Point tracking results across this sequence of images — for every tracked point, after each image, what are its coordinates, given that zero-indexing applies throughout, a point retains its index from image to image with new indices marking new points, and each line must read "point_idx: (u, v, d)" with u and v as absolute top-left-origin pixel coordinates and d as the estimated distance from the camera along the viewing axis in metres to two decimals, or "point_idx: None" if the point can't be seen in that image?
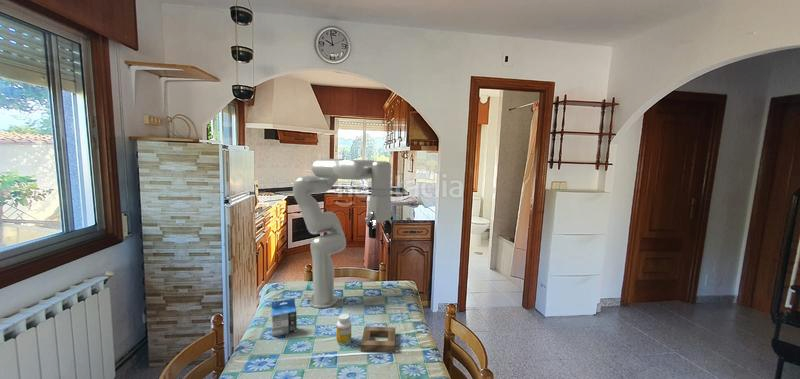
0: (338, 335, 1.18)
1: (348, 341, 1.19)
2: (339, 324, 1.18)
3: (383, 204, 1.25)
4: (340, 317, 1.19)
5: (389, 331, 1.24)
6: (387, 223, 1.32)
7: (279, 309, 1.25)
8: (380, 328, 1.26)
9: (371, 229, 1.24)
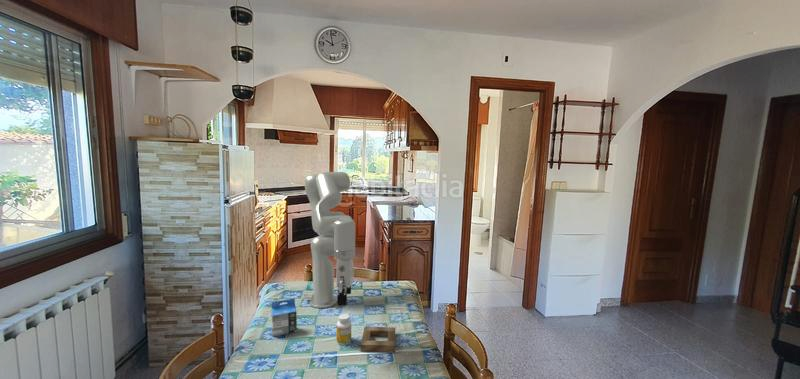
0: (338, 335, 1.18)
1: (348, 341, 1.19)
2: (339, 324, 1.18)
3: None
4: (340, 317, 1.19)
5: (389, 331, 1.24)
6: None
7: (279, 309, 1.25)
8: (380, 328, 1.26)
9: None
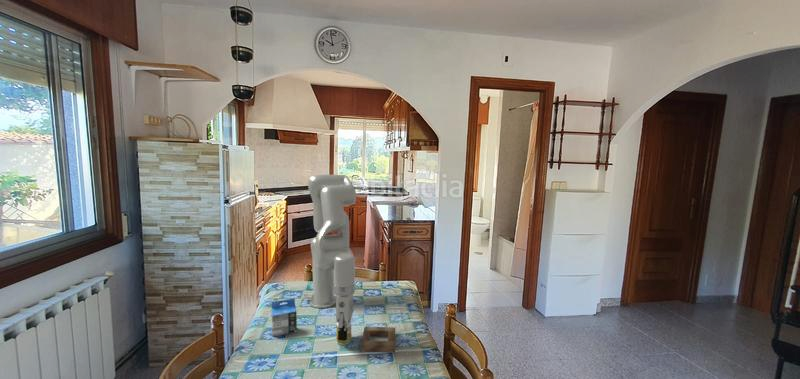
0: None
1: (348, 341, 1.19)
2: None
3: None
4: None
5: (389, 331, 1.24)
6: None
7: (279, 309, 1.25)
8: (380, 328, 1.26)
9: None
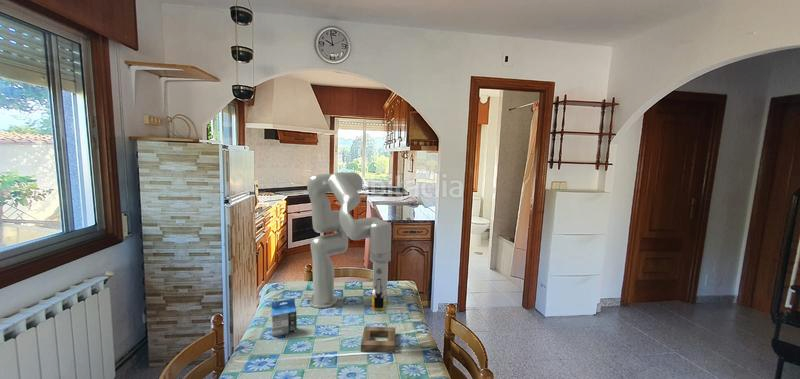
0: None
1: (384, 310, 1.18)
2: None
3: None
4: None
5: (389, 331, 1.24)
6: None
7: (279, 309, 1.25)
8: (380, 328, 1.26)
9: None
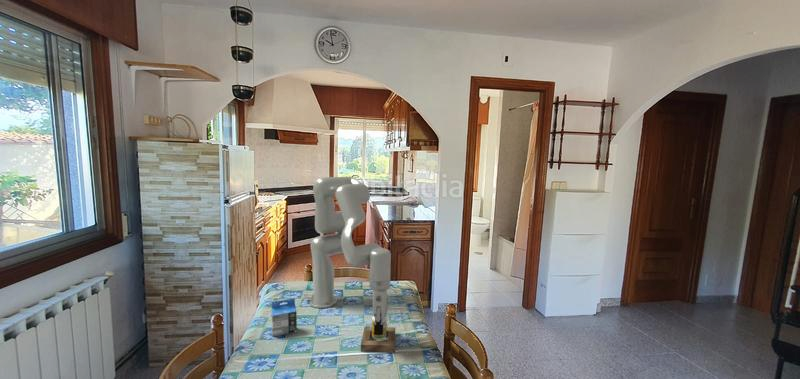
0: None
1: (384, 336, 1.19)
2: None
3: None
4: None
5: (389, 331, 1.24)
6: None
7: (279, 309, 1.25)
8: None
9: None
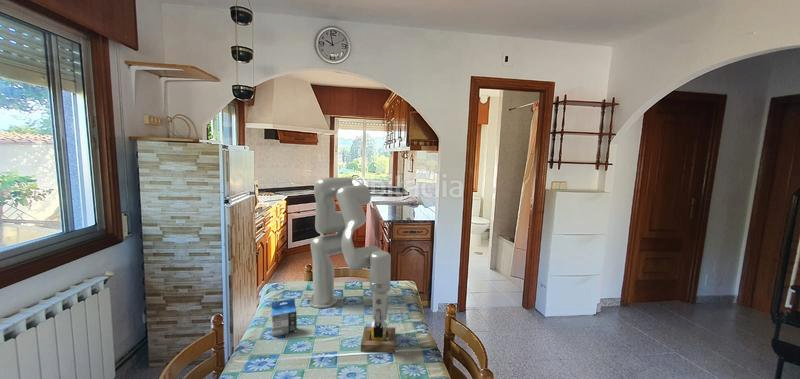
0: (373, 336, 1.18)
1: None
2: None
3: None
4: None
5: (389, 331, 1.24)
6: None
7: (279, 309, 1.25)
8: None
9: None
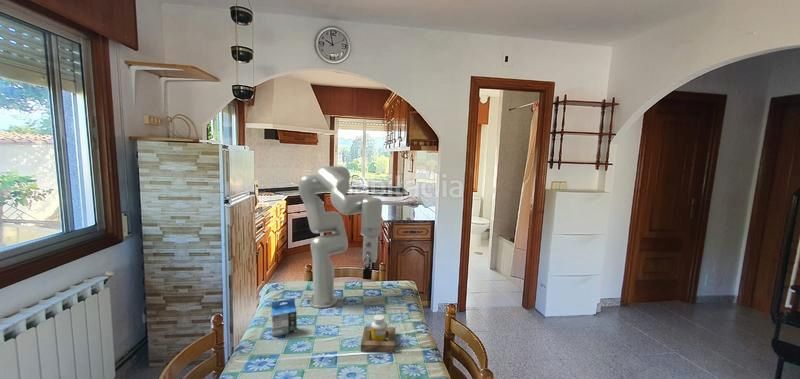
0: (373, 336, 1.18)
1: None
2: (374, 325, 1.18)
3: None
4: (375, 318, 1.19)
5: (389, 331, 1.24)
6: None
7: (279, 309, 1.25)
8: None
9: None
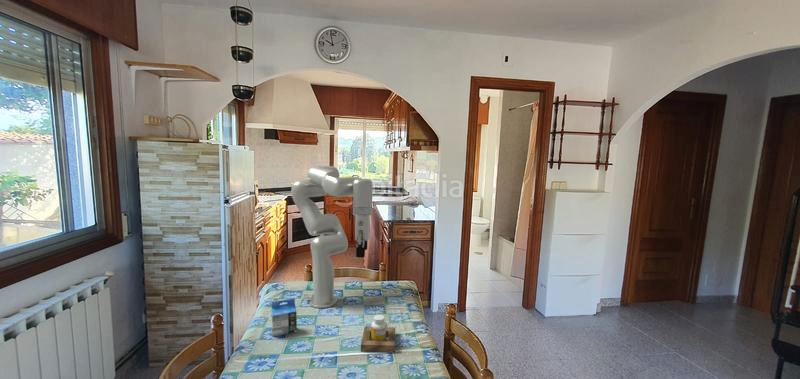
0: (373, 336, 1.18)
1: None
2: (374, 325, 1.18)
3: None
4: (375, 318, 1.19)
5: (389, 331, 1.24)
6: None
7: (279, 309, 1.25)
8: None
9: None
